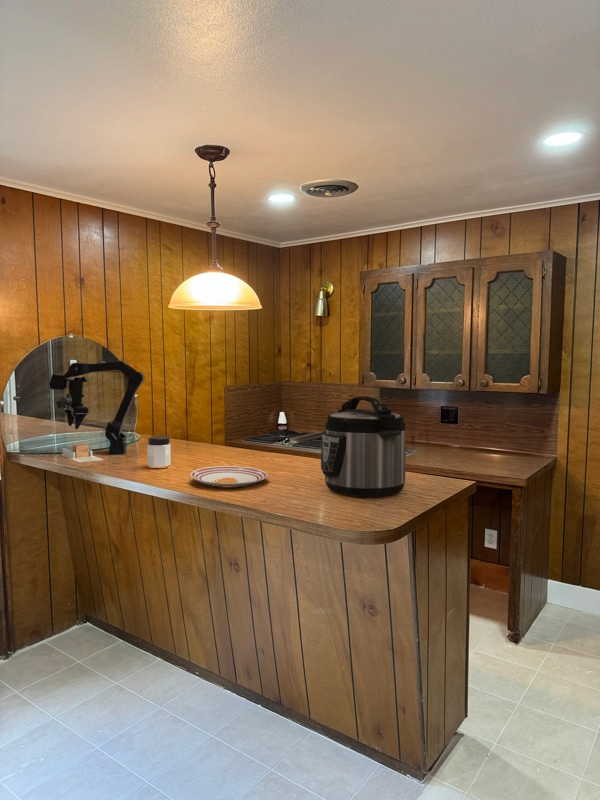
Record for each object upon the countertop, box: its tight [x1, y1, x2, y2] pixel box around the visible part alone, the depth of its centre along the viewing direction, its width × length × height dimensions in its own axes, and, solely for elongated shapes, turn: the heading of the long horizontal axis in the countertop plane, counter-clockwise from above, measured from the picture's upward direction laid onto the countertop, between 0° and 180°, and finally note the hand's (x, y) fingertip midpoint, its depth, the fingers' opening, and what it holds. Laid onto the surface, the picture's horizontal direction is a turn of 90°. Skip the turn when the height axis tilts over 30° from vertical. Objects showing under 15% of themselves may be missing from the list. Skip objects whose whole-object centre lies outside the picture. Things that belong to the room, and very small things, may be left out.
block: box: [71, 443, 90, 458], centre depth 235 cm, size 5×5×5 cm
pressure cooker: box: [320, 395, 407, 498], centre depth 187 cm, size 30×28×32 cm
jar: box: [146, 435, 171, 467], centre depth 222 cm, size 9×8×12 cm
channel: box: [59, 447, 104, 463], centre depth 235 cm, size 24×10×4 cm, turn 41°
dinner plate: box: [189, 465, 269, 487], centre depth 198 cm, size 27×27×3 cm
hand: (73, 427), depth 240 cm, fingers open, 9 cm apart
